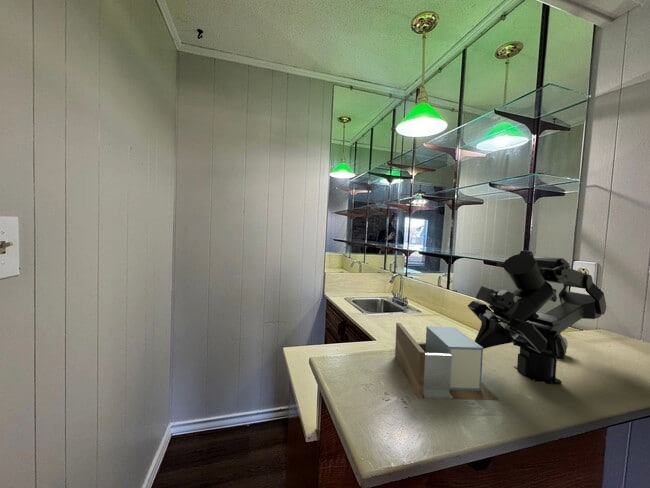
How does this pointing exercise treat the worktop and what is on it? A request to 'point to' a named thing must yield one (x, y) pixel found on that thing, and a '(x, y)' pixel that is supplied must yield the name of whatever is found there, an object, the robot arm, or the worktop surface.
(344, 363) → the worktop surface
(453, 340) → the light blue block
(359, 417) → the worktop surface
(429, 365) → the bookend
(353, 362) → the worktop surface
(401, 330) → the shelf
